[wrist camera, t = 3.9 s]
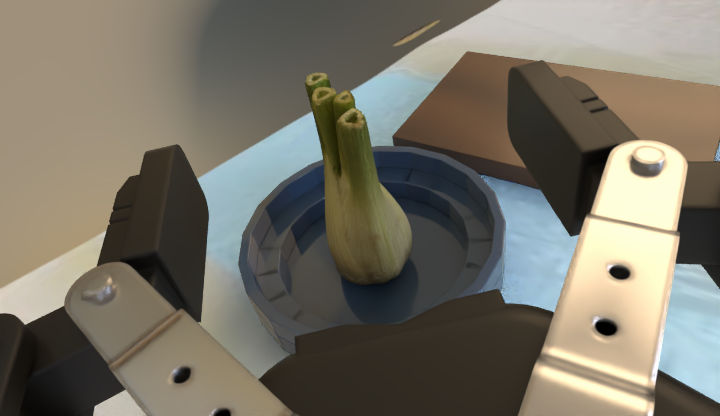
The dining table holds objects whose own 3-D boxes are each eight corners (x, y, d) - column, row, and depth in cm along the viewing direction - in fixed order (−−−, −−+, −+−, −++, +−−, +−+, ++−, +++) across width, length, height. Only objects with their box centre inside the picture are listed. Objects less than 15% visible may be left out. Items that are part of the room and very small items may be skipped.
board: (467, 66, 48) (467, 51, 47) (729, 106, 38) (735, 88, 37) (394, 152, 41) (391, 136, 40) (692, 228, 31) (699, 209, 30)
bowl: (343, 161, 41) (335, 127, 39) (541, 217, 34) (545, 178, 32) (205, 311, 33) (185, 277, 31) (428, 428, 25) (422, 396, 23)
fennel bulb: (338, 230, 36) (292, 67, 27) (413, 222, 35) (388, 53, 27) (332, 302, 31) (276, 135, 23) (417, 295, 31) (390, 120, 23)
